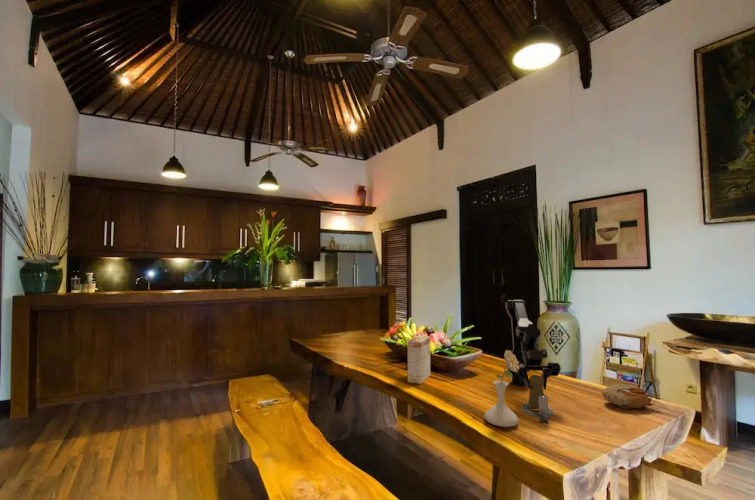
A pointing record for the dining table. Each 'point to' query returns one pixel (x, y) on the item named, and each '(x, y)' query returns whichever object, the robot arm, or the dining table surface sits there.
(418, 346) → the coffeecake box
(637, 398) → the nautilus
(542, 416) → the octagon frame
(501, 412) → the flower in vase
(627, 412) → the dining table surface
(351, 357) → the dining table surface
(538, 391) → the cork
